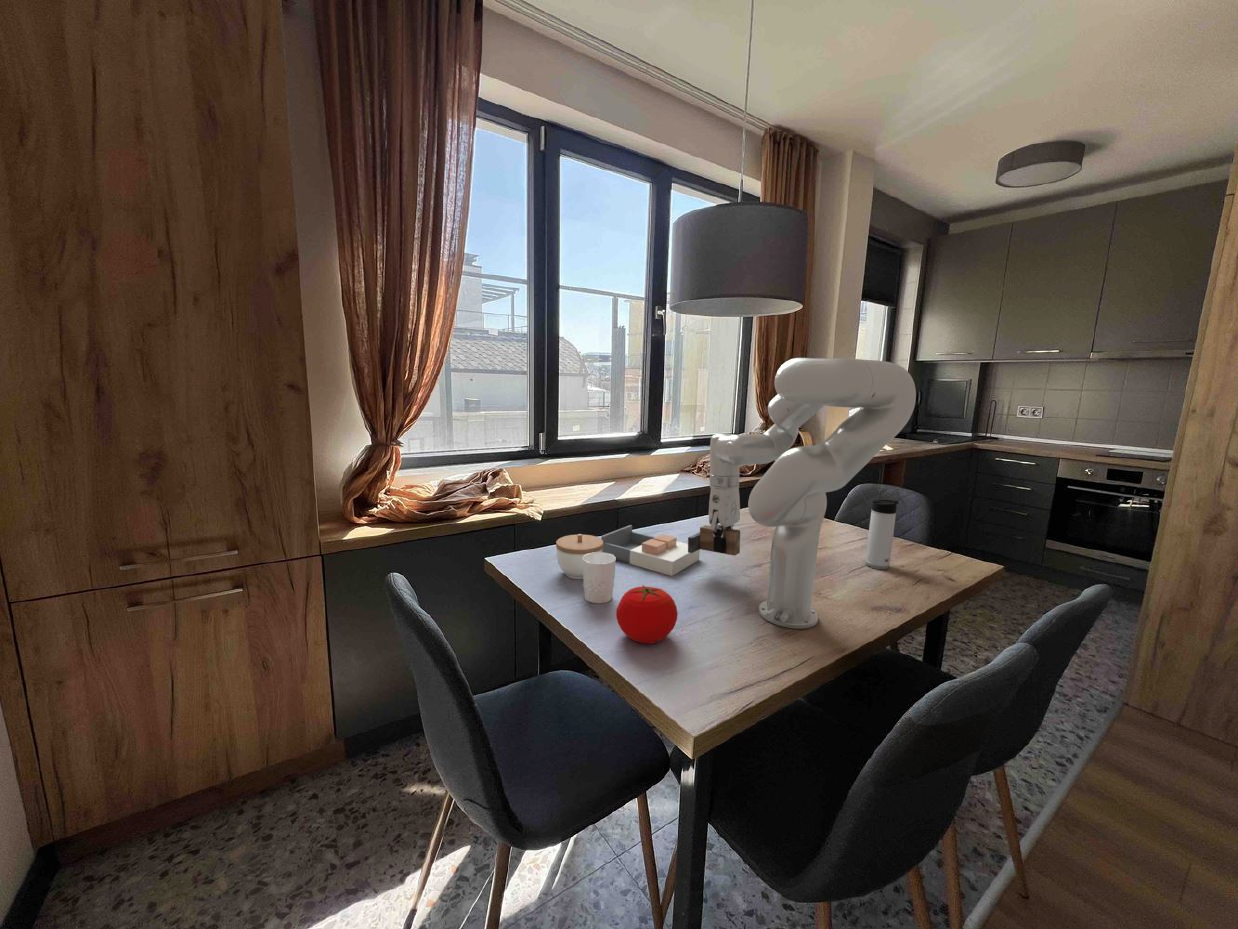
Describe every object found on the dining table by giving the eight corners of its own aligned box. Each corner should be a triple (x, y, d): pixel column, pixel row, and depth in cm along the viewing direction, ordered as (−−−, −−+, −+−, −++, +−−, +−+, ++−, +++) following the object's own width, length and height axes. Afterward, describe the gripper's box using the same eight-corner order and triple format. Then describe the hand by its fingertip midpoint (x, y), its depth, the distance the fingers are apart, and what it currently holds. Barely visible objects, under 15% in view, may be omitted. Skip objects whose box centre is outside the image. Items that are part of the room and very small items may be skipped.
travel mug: (892, 571, 138) (901, 503, 135) (866, 568, 140) (874, 501, 137) (888, 564, 144) (896, 498, 141) (863, 561, 146) (871, 496, 143)
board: (671, 575, 130) (672, 561, 130) (629, 563, 138) (630, 550, 138) (699, 559, 143) (699, 546, 142) (658, 549, 151) (659, 537, 151)
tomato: (606, 633, 100) (607, 584, 98) (652, 617, 107) (653, 572, 105) (639, 658, 91) (641, 606, 89) (687, 640, 98) (689, 591, 96)
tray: (629, 563, 138) (630, 543, 137) (600, 555, 145) (601, 535, 144) (657, 550, 150) (658, 531, 149) (629, 542, 157) (630, 525, 156)
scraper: (727, 560, 120) (728, 536, 120) (687, 552, 127) (688, 530, 126) (746, 548, 130) (746, 527, 129) (708, 542, 137) (708, 521, 136)
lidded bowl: (556, 584, 123) (556, 543, 121) (555, 566, 135) (555, 528, 133) (605, 582, 125) (606, 541, 123) (599, 564, 137) (600, 527, 135)
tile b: (667, 549, 139) (667, 541, 139) (652, 545, 142) (653, 538, 142) (676, 545, 143) (676, 537, 143) (661, 541, 146) (662, 534, 146)
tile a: (656, 555, 134) (656, 547, 134) (641, 551, 137) (641, 543, 137) (665, 550, 138) (666, 542, 138) (651, 546, 141) (651, 538, 141)
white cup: (607, 607, 111) (608, 566, 109) (576, 601, 114) (577, 560, 112) (619, 593, 118) (620, 555, 117) (589, 588, 121) (590, 550, 119)
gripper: (724, 486, 117) (722, 560, 119) (750, 479, 130) (748, 545, 132) (696, 484, 121) (695, 555, 123) (724, 476, 134) (722, 541, 136)
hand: (722, 549), depth 127 cm, fingers closed on scraper, 3 cm apart
